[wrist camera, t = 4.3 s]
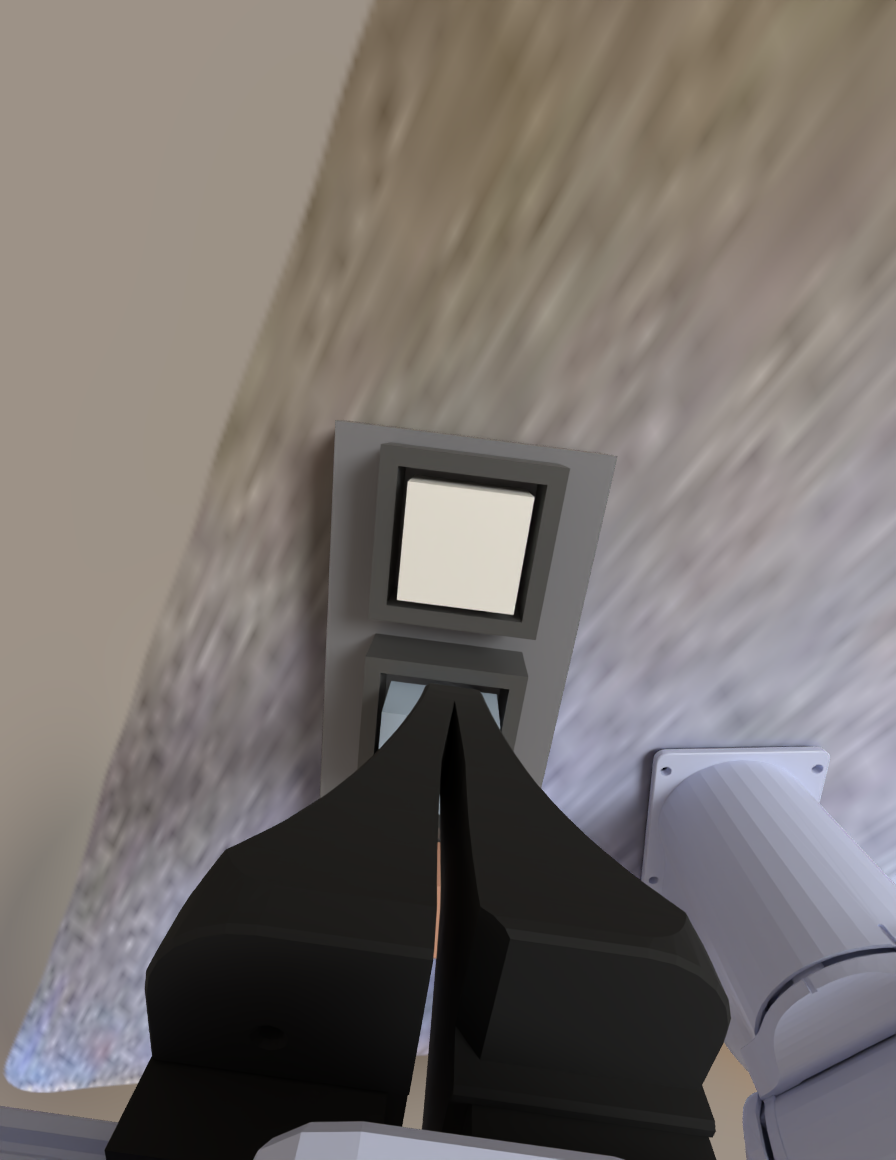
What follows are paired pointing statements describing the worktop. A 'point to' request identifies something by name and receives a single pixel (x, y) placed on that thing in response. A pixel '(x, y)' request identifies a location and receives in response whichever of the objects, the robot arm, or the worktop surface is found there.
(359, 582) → the key panel
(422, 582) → the off-white key
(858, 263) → the worktop surface
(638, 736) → the worktop surface
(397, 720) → the slate blue key
